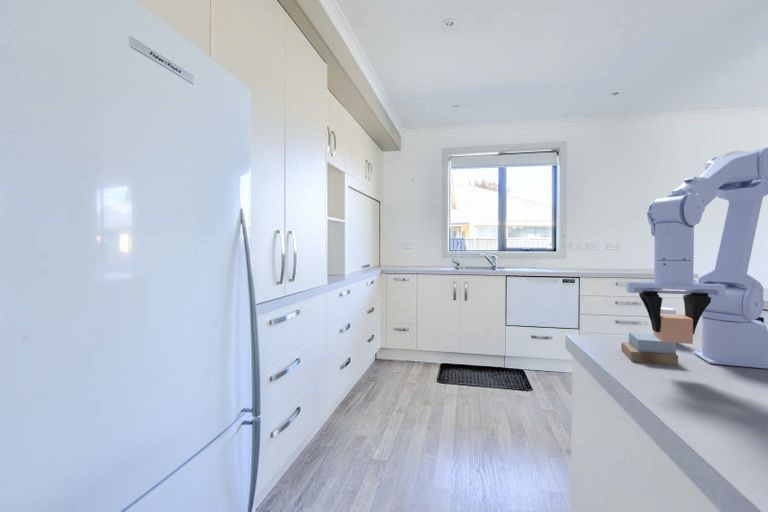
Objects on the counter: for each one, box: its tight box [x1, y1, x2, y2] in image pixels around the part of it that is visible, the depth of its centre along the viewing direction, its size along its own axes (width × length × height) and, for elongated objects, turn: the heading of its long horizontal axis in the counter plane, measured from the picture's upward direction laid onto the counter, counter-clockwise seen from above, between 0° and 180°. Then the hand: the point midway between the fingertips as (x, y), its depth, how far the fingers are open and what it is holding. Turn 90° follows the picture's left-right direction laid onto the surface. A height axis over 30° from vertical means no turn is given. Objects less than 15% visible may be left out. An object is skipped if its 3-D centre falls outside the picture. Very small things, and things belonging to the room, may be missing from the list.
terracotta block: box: [653, 313, 694, 345], centre depth 67 cm, size 4×4×4 cm
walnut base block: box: [621, 341, 679, 366], centre depth 76 cm, size 8×8×2 cm
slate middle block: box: [628, 332, 677, 355], centre depth 76 cm, size 6×6×2 cm
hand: (672, 332), depth 67 cm, fingers closed on terracotta block, 4 cm apart
